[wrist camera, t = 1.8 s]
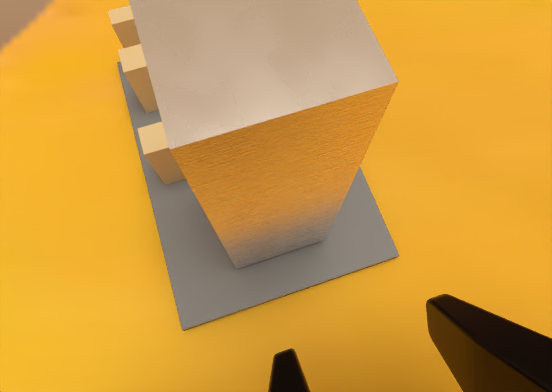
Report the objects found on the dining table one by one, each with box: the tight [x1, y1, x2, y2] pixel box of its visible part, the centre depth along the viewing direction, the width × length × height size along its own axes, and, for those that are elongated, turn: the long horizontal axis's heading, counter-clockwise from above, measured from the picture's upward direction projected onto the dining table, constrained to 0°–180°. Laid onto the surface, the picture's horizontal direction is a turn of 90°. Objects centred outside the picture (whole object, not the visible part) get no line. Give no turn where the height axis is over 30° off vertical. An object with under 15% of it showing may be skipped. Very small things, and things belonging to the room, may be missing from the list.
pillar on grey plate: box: [129, 0, 399, 269], centre depth 16 cm, size 5×5×14 cm
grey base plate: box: [108, 5, 399, 330], centre depth 22 cm, size 17×12×4 cm
